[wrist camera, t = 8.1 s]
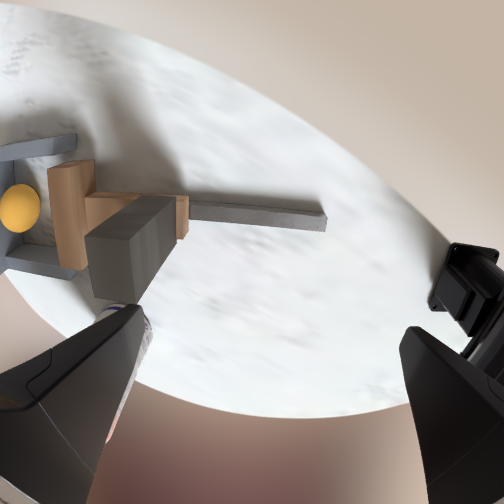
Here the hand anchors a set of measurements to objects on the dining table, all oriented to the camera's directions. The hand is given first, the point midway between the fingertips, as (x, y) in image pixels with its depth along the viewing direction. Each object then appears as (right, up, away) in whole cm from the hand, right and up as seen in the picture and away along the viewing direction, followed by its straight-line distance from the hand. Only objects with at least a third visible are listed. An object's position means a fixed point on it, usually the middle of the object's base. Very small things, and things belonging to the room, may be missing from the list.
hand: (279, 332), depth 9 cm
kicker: (-9, +5, +10) cm, 15 cm away
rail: (-1, +5, +11) cm, 12 cm away
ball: (-20, +6, +9) cm, 23 cm away
